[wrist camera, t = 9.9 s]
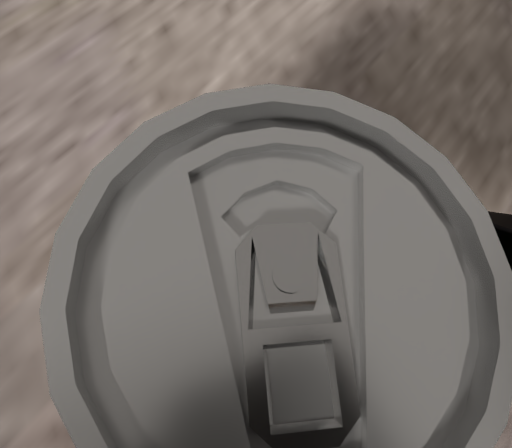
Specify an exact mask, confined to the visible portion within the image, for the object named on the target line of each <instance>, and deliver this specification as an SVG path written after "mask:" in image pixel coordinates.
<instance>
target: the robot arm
mask: <svg viewBox="0 0 512 448" xmlns="http://www.w3.org/2000/svg"><path fill="white" fill-rule="evenodd" d="M488 213H489V216H490V218H491V221H492V223H493V226H494V228H495V231H496V233H497V236H498V238H499V241H500V243H501V245H502V248H503V250H504V253H505V255H506V258H507V260H508V263H509V265H510V268H511V270H512V215H511V214H503V213H496V212H488Z"/></svg>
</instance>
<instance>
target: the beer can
mask: <svg viewBox="0 0 512 448" xmlns="http://www.w3.org/2000/svg"><path fill="white" fill-rule="evenodd" d="M39 313H40V321H41V329H42V337H43V345H44V353H45V361H46V369H47V377H48V385H49V393H50V397H51V399H52V401H53V403H54V405H55V407H56V409H57V411H58V413H59V415H60V417H61V419H62V421H63V423H64V425H65V427H66V429H67V431H68V433H69V435H70V437H71V439H72V441H73V443H74V445H75V447H76V448H494V446H495V444H496V443H497V441H498V439H499V437H500V436H501V434H502V432H503V430H504V429H505V427H506V425H507V421H508V416H509V411H510V406H511V401H512V270H511V268H510V265H509V263H508V260H507V258H506V255H505V253H504V250H503V248H502V245H501V243H500V241H499V238H498V236H497V233H496V231H495V228H494V226H493V223H492V221H491V218H490V216H489V213H488V211H487V210H486V208H485V207H484V206H483V205H482V203H481V202H480V201H479V199H478V198H477V197H476V195H475V194H474V193H473V191H472V190H471V189H470V187H469V186H468V185H467V184H466V182H465V181H464V180H463V178H462V177H461V176H460V174H459V173H458V172H457V170H456V169H455V168H454V166H453V165H452V164H451V162H450V161H449V160H448V159H447V157H446V156H444V155H443V154H442V153H440V152H439V151H438V150H436V149H435V148H434V147H433V146H431V145H430V144H429V143H427V142H426V141H425V140H423V139H422V138H421V137H420V136H418V135H417V134H416V133H414V132H413V131H412V130H411V129H409V128H408V127H407V126H405V125H404V124H403V123H401V122H400V121H399V120H398V119H396V118H395V117H393V116H391V115H389V114H386V113H384V112H381V111H379V110H377V109H374V108H372V107H369V106H367V105H365V104H362V103H360V102H357V101H355V100H353V99H350V98H348V97H345V96H343V95H341V94H338V93H336V92H332V91H324V90H316V89H308V88H300V87H293V86H285V85H277V84H264V85H257V86H251V87H244V88H238V89H231V90H224V91H218V92H211V93H205V94H203V95H201V96H199V97H196V98H194V99H192V100H190V101H188V102H186V103H184V104H182V105H179V106H177V107H175V108H173V109H171V110H169V111H167V112H165V113H162V114H160V115H158V116H156V117H154V118H152V119H150V120H147V121H145V122H144V123H143V124H142V125H140V126H139V127H138V128H137V129H136V130H135V131H134V132H133V133H132V134H131V135H129V136H128V137H127V138H126V139H125V140H124V141H123V142H122V143H121V144H120V145H119V146H117V147H116V148H115V149H114V150H113V151H112V152H111V153H110V154H109V155H108V156H106V157H105V158H104V159H103V160H102V161H101V162H100V163H99V164H98V165H97V166H95V167H94V168H93V169H92V171H91V173H90V174H89V176H88V178H87V180H86V181H85V183H84V185H83V187H82V188H81V190H80V192H79V193H78V195H77V197H76V199H75V200H74V202H73V204H72V206H71V207H70V209H69V211H68V213H67V214H66V216H65V218H64V220H63V221H62V223H61V225H60V227H59V228H58V230H57V232H56V234H55V238H54V243H53V248H52V252H51V257H50V262H49V267H48V272H47V277H46V282H45V286H44V291H43V296H42V301H41V306H40V311H39Z"/></svg>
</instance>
